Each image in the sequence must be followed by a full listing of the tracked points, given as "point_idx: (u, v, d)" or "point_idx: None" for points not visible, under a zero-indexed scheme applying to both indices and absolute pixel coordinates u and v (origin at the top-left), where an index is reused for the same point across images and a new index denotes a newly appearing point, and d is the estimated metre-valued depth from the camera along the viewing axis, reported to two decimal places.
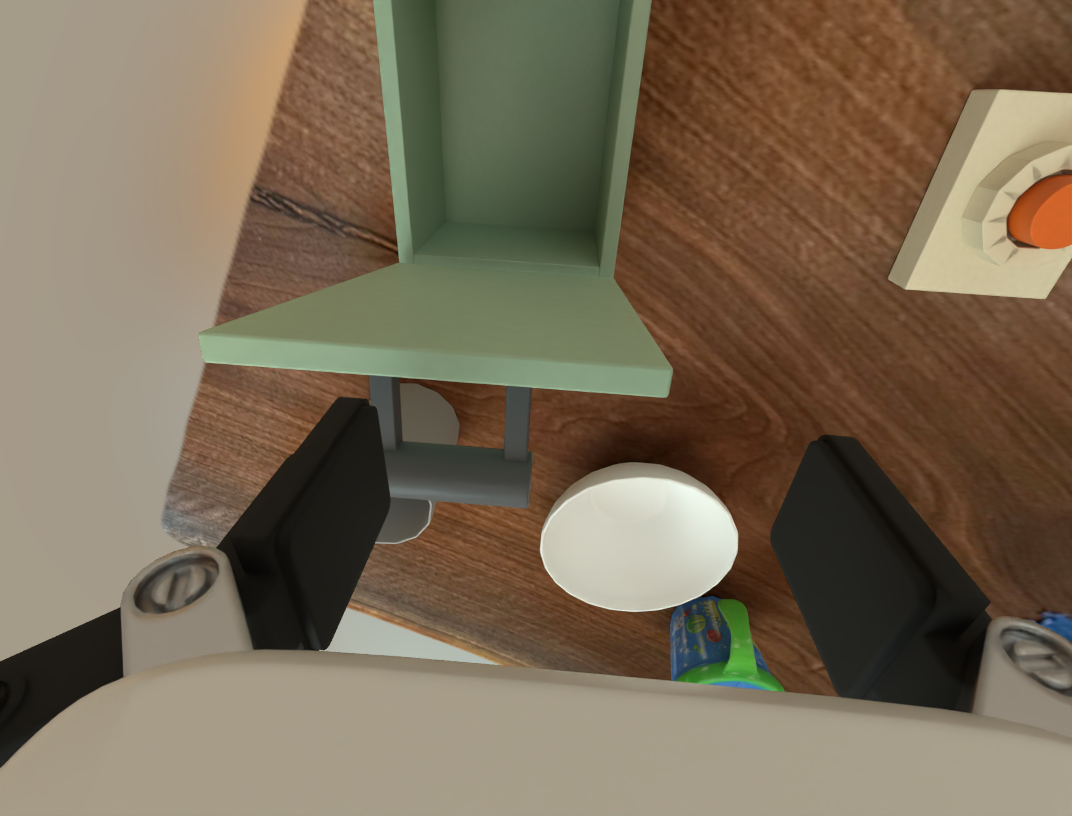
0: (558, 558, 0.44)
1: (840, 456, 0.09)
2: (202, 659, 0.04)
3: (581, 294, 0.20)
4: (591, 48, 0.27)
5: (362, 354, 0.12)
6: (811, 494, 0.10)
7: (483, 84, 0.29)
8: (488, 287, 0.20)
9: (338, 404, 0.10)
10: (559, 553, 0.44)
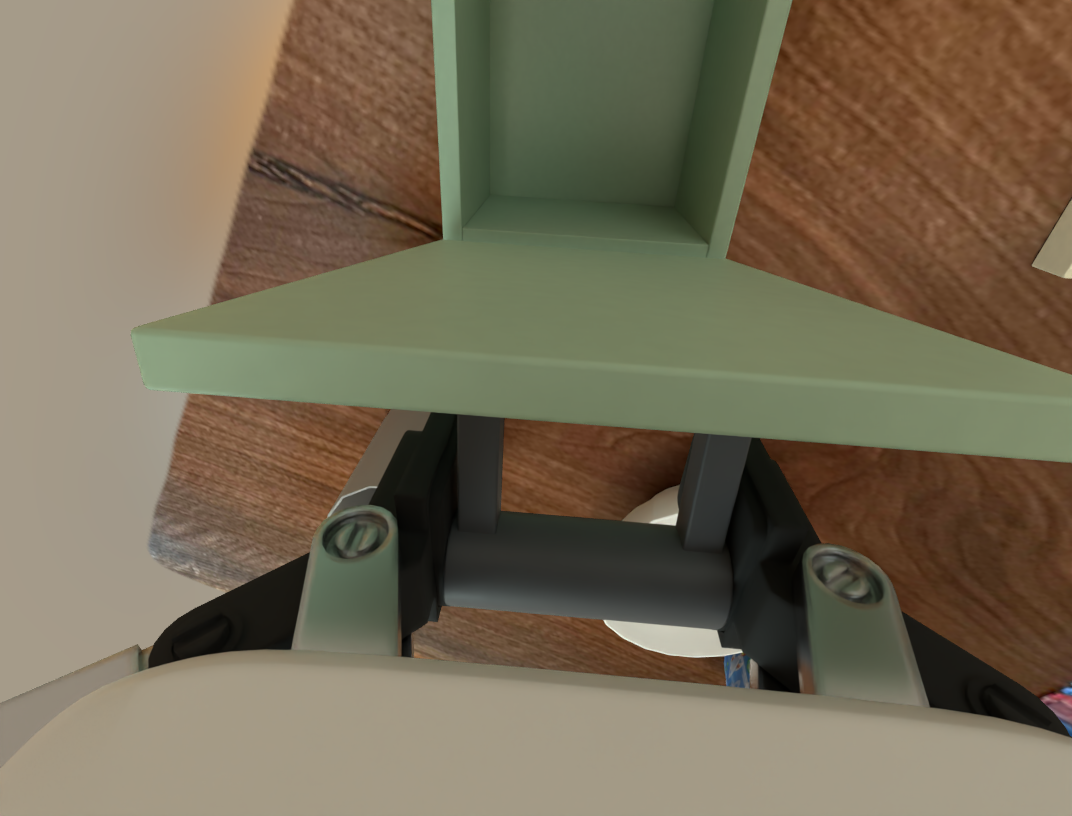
0: None
1: None
2: (202, 659, 0.04)
3: (726, 275, 0.14)
4: None
5: (479, 374, 0.06)
6: None
7: (546, 13, 0.22)
8: (590, 265, 0.14)
9: None
10: None
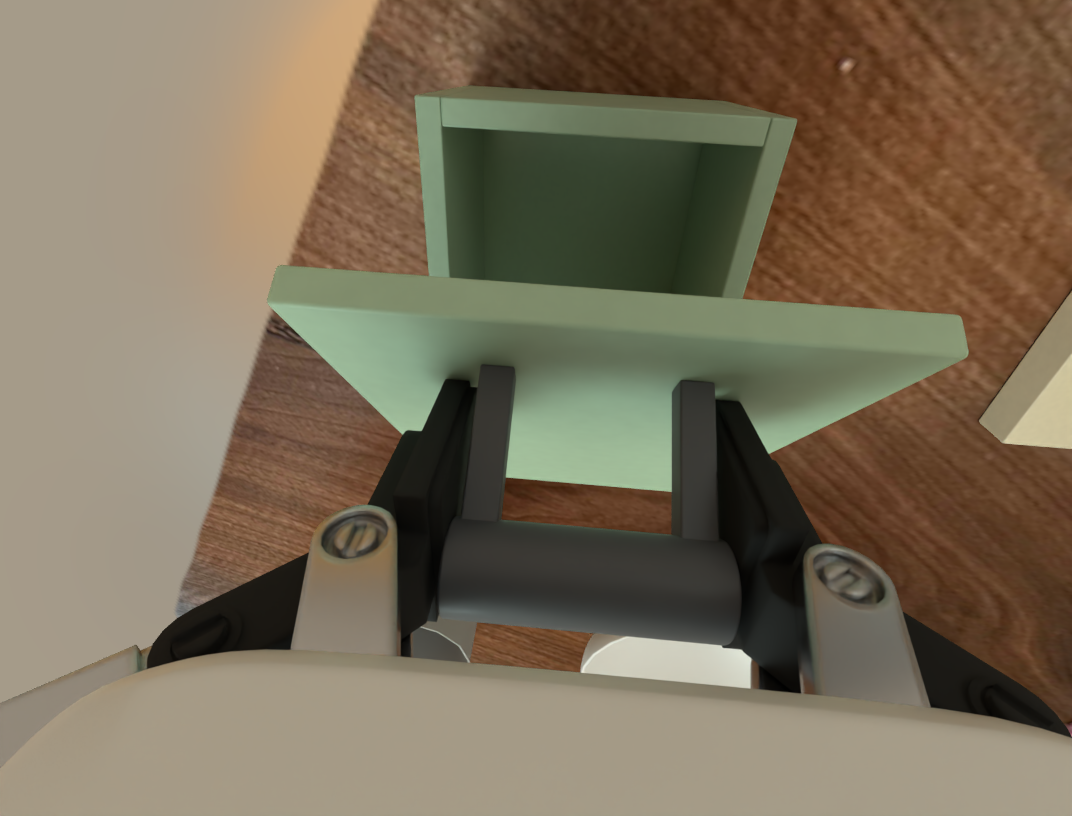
0: None
1: (724, 417, 0.10)
2: (202, 659, 0.04)
3: None
4: (663, 197, 0.23)
5: (509, 292, 0.08)
6: None
7: (535, 230, 0.25)
8: None
9: (448, 385, 0.10)
10: (596, 671, 0.41)
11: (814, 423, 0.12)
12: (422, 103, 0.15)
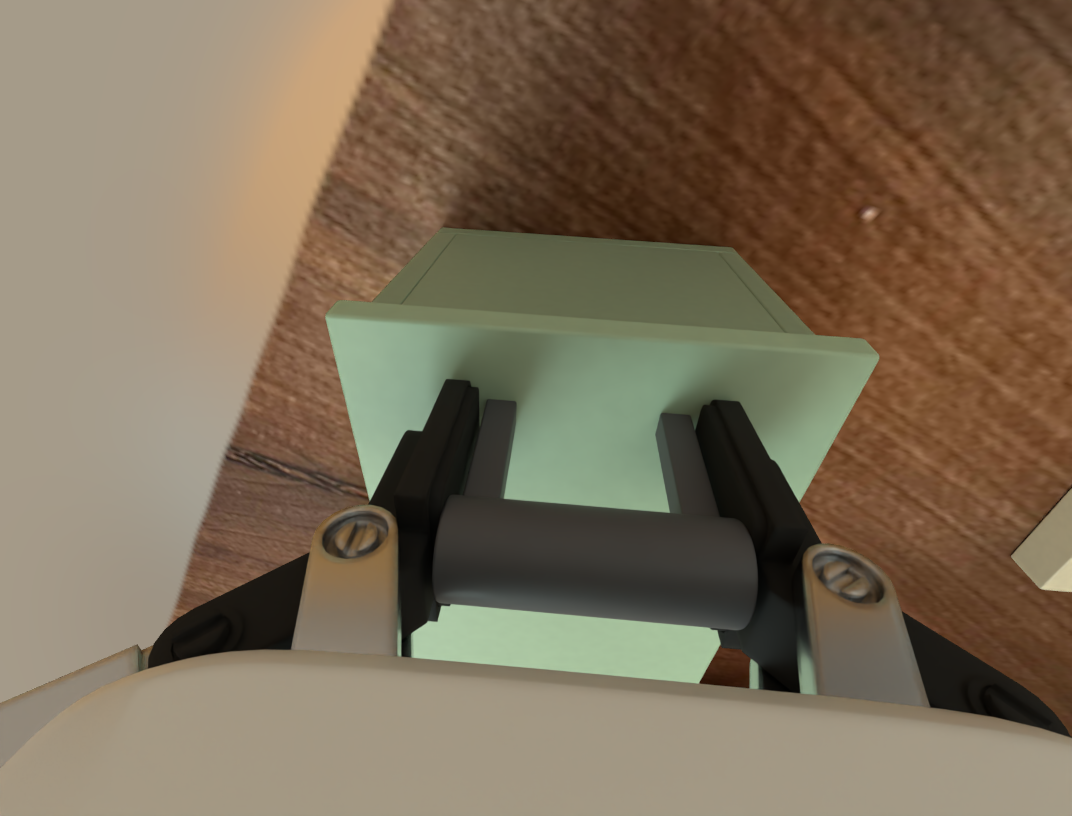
0: None
1: (723, 417, 0.10)
2: (202, 659, 0.04)
3: None
4: None
5: (518, 316, 0.11)
6: None
7: None
8: None
9: (448, 385, 0.10)
10: None
11: (792, 488, 0.12)
12: None
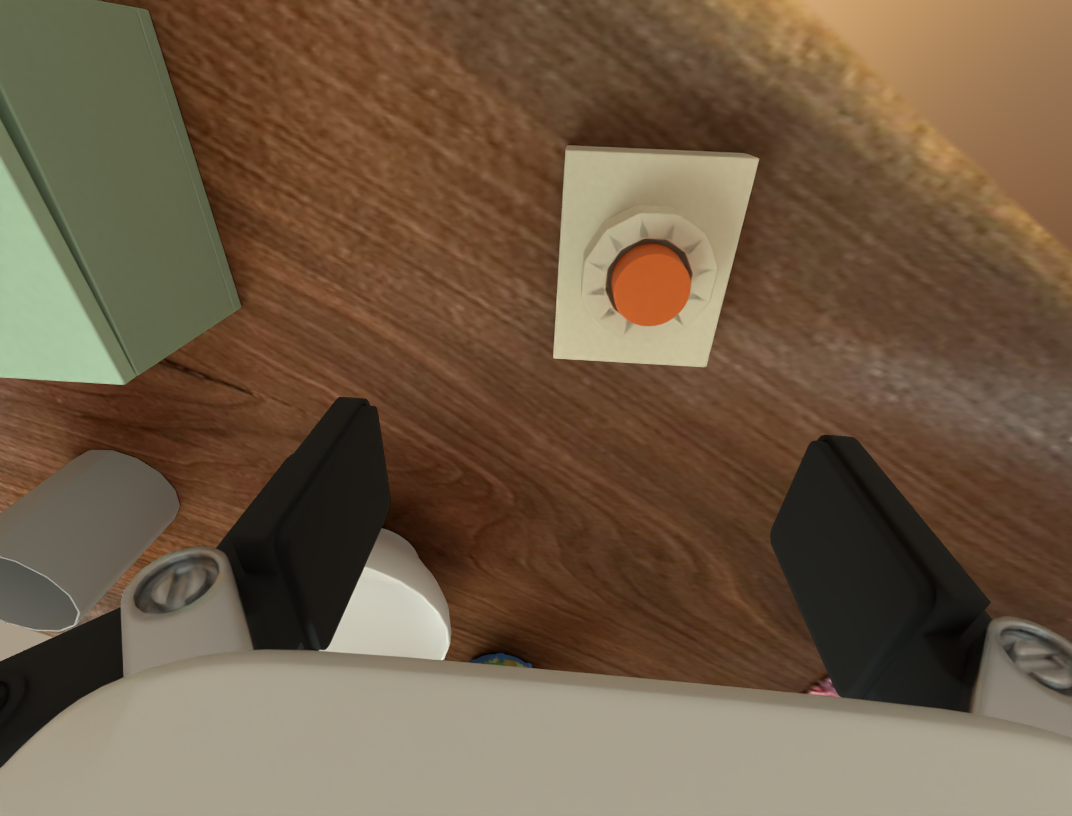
0: None
1: (840, 456, 0.09)
2: (202, 659, 0.04)
3: None
4: None
5: None
6: (811, 494, 0.10)
7: None
8: None
9: (338, 404, 0.10)
10: None
11: None
12: None
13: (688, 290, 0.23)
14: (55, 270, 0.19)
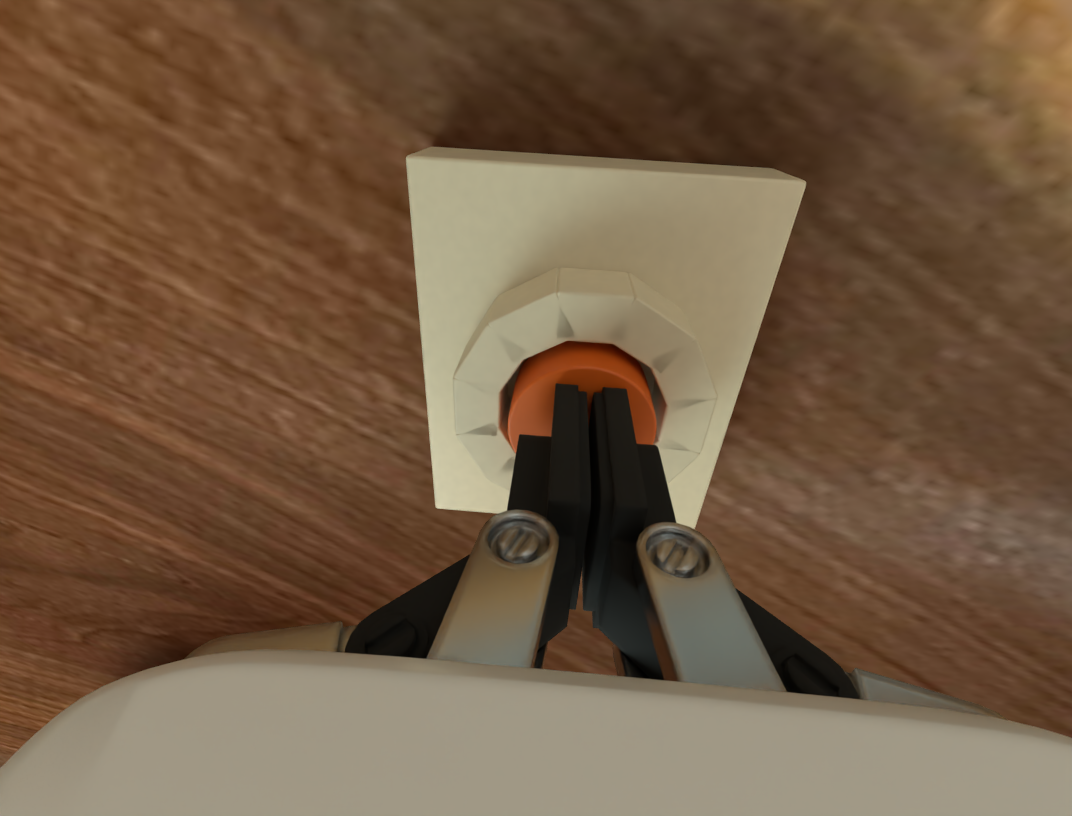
0: None
1: (608, 404, 0.10)
2: (202, 659, 0.04)
3: None
4: None
5: None
6: (590, 440, 0.11)
7: None
8: None
9: (560, 389, 0.11)
10: None
11: None
12: None
13: (652, 433, 0.12)
14: None
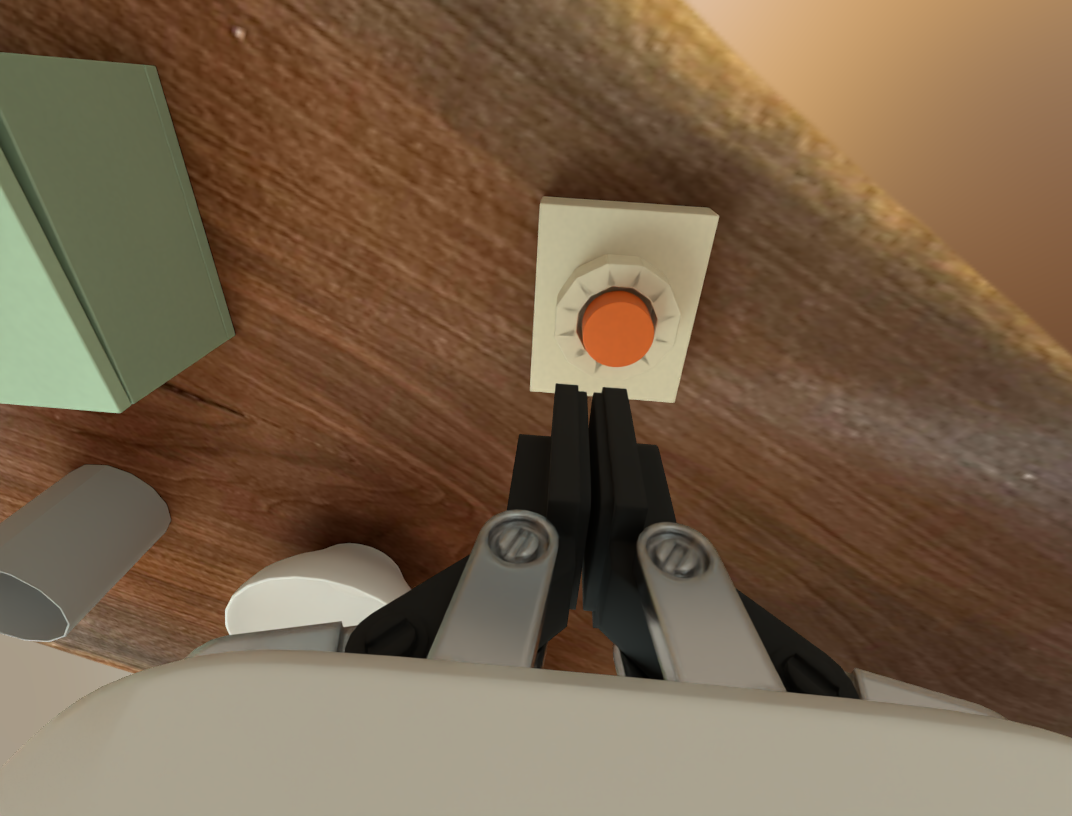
0: None
1: (608, 404, 0.10)
2: (202, 659, 0.04)
3: None
4: None
5: None
6: (590, 440, 0.11)
7: None
8: None
9: (560, 389, 0.11)
10: None
11: None
12: None
13: (652, 335, 0.25)
14: (60, 309, 0.21)
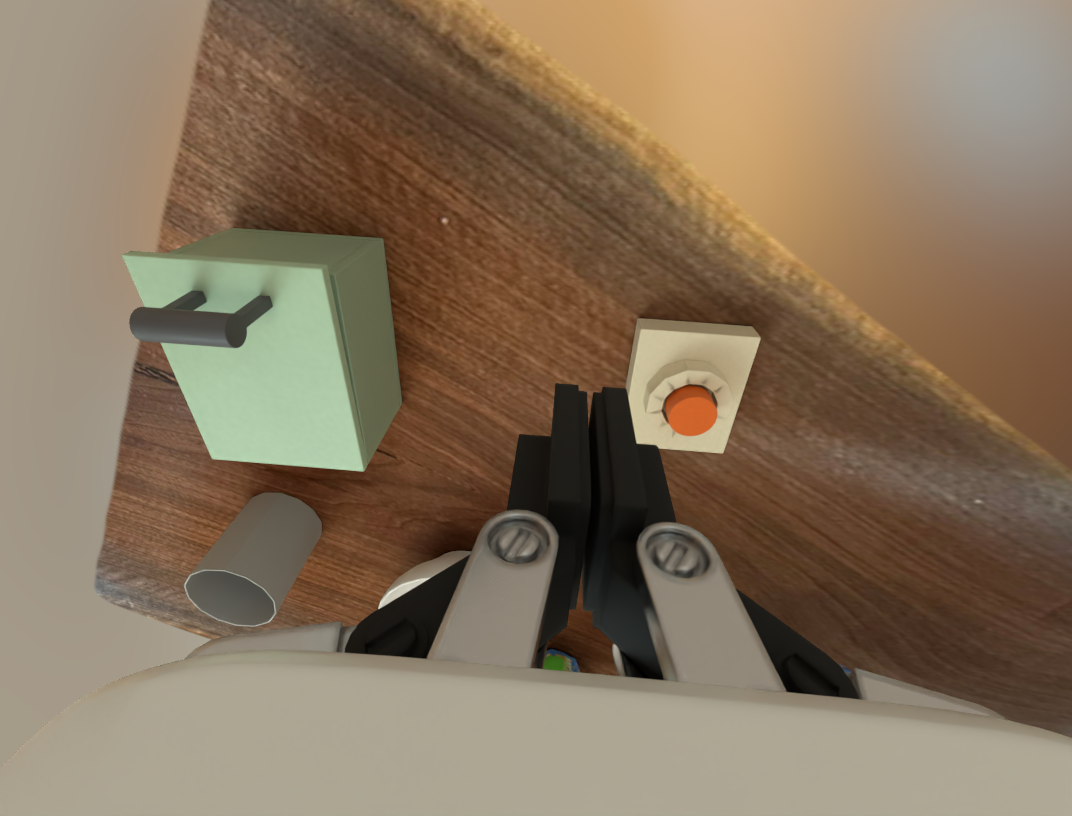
0: None
1: (608, 404, 0.10)
2: (202, 659, 0.04)
3: None
4: None
5: (197, 256, 0.28)
6: (590, 440, 0.11)
7: None
8: None
9: (560, 389, 0.11)
10: None
11: (328, 331, 0.30)
12: None
13: (715, 417, 0.37)
14: (348, 411, 0.33)
